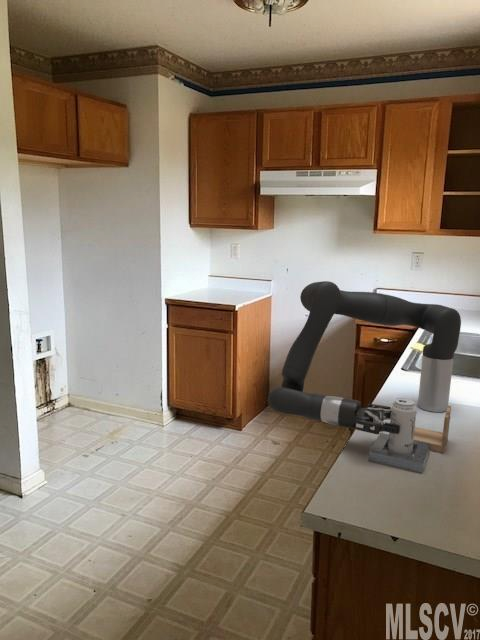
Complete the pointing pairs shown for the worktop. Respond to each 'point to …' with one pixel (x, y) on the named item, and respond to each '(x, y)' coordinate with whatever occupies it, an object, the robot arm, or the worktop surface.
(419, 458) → the socket block
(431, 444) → the wooden l-shaped stand
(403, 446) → the energy drink can
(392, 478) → the worktop surface
